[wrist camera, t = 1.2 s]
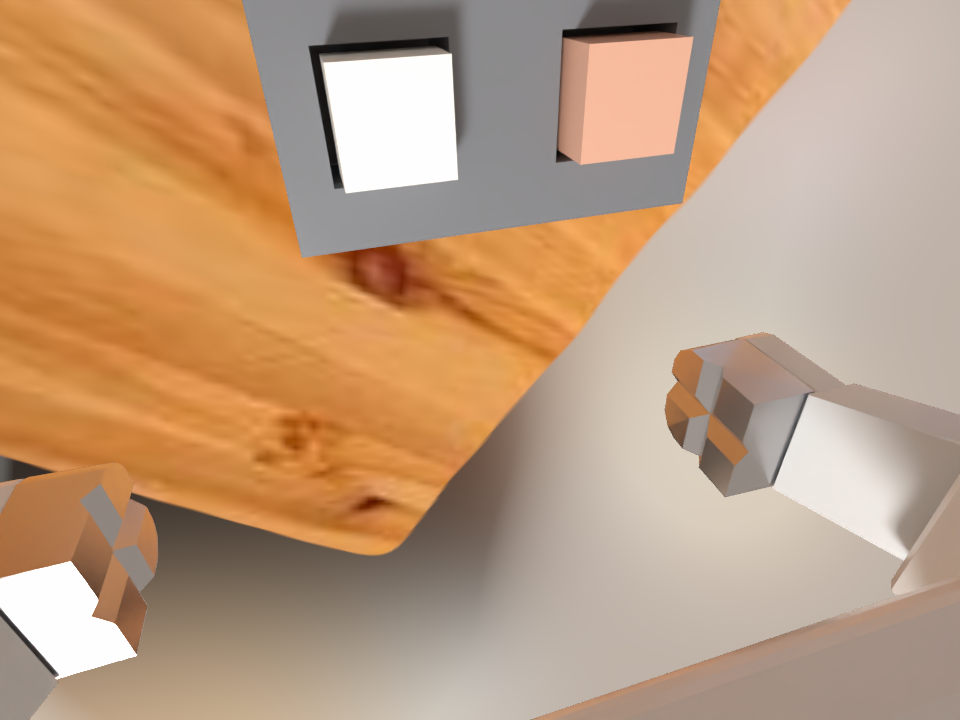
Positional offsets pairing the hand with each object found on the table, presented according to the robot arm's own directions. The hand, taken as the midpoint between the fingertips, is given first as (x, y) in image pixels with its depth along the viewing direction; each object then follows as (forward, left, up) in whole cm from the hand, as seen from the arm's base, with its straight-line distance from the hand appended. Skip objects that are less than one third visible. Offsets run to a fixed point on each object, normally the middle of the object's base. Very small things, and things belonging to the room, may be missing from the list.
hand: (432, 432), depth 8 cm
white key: (0, +3, -21) cm, 21 cm away
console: (0, +8, -25) cm, 27 cm away
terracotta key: (0, +14, -21) cm, 25 cm away
